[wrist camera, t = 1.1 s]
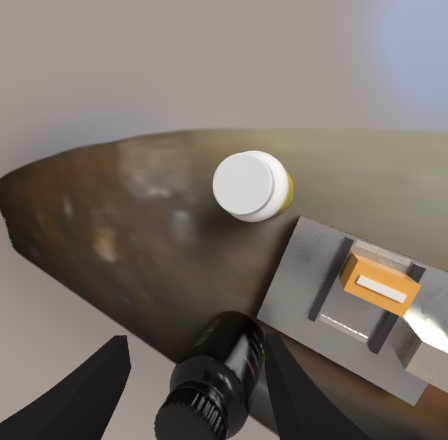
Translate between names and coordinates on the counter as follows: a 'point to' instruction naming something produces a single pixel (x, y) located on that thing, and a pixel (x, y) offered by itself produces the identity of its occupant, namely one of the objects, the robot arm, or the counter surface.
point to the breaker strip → (360, 311)
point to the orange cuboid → (378, 284)
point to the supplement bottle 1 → (214, 382)
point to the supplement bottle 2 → (252, 186)
